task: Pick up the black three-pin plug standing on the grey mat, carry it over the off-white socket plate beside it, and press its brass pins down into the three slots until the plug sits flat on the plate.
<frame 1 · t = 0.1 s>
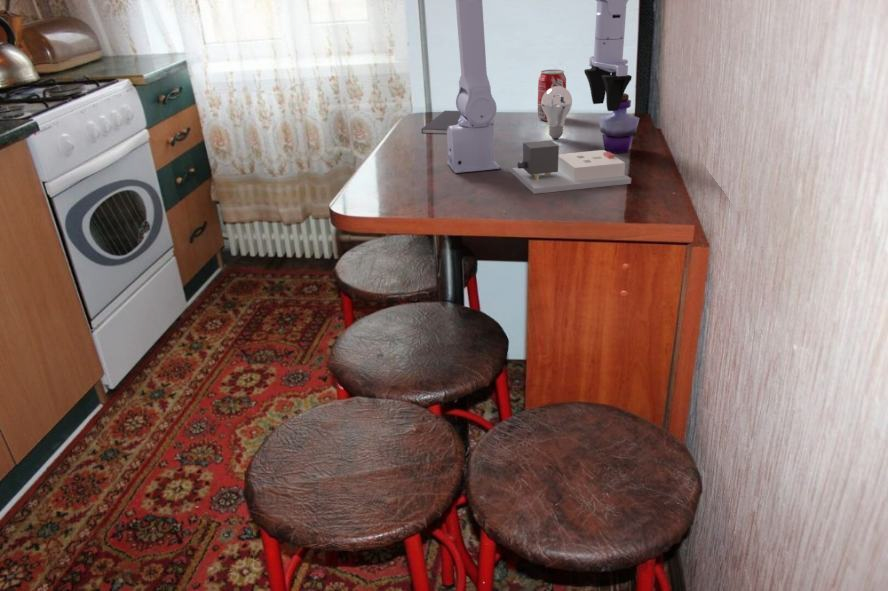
hand: (605, 106, 150), 10 cm above the table, tool pointing down, fingers open, 7 cm apart
socket plate: (589, 171, 140), resting on socket mat
light bulb: (555, 139, 168), on the table
plug: (540, 176, 138), point 1 cm above the table, touching socket mat
socket mat: (569, 178, 140), on the table
potion bottle: (616, 151, 157), on the table
soda can: (551, 120, 186), on the table
notebook: (457, 126, 186), on the table
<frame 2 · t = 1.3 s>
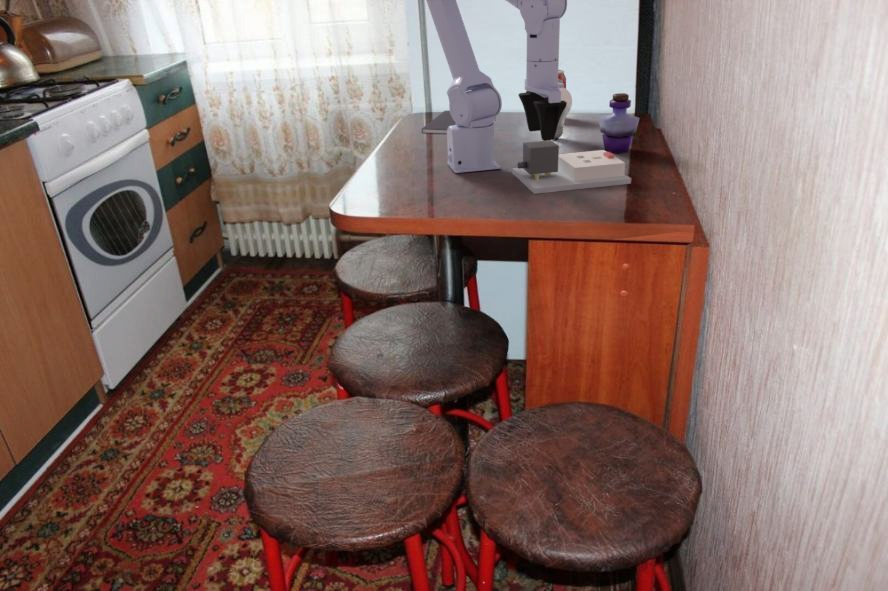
hand: (541, 135, 135), 9 cm above the table, tool pointing down, fingers open, 7 cm apart
nothing on the table moved.
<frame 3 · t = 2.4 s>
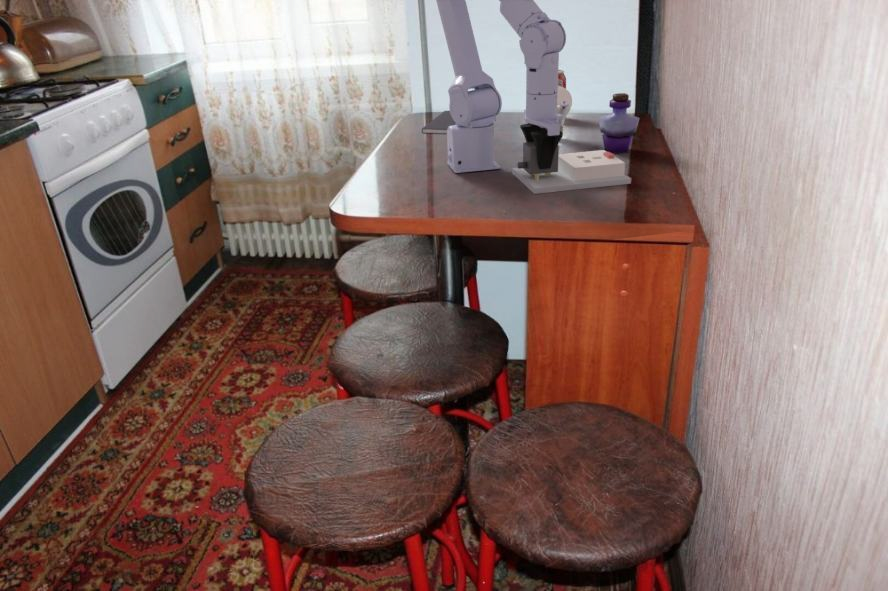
hand: (540, 164, 137), 3 cm above the table, tool pointing down, fingers closed on plug, 4 cm apart
plug: (540, 176, 138), point 1 cm above the table, touching gripper, socket mat
everything else where it was.
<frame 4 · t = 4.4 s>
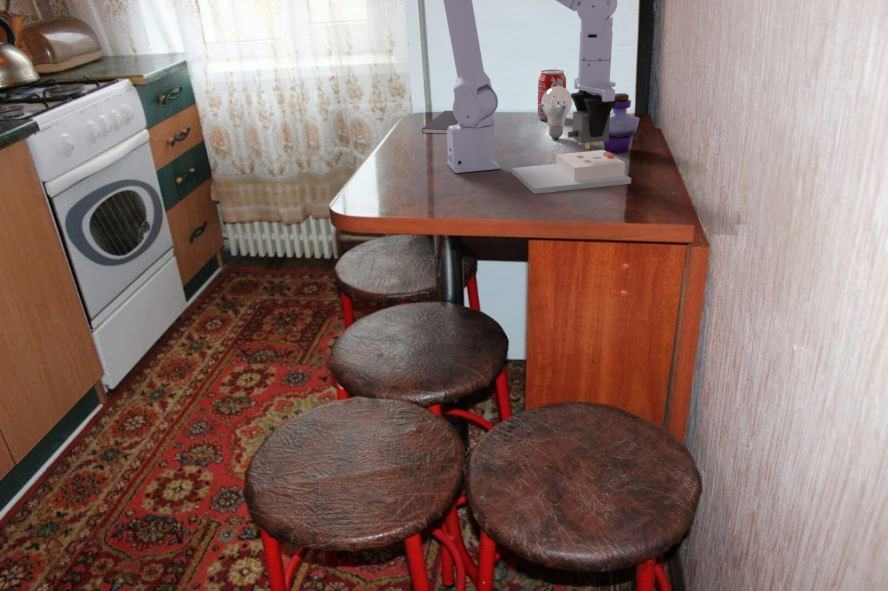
hand: (591, 133, 137), 8 cm above the table, tool pointing down, fingers closed on plug, 4 cm apart
plug: (589, 145, 138), point 6 cm above the table, touching gripper
everything else where it was.
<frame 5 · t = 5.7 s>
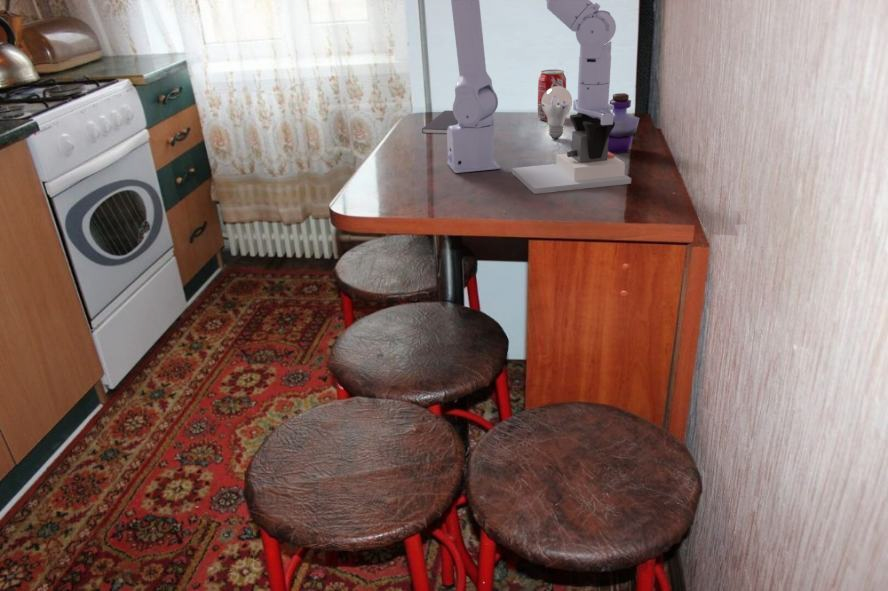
hand: (590, 154, 138), 4 cm above the table, tool pointing down, fingers closed on plug, 4 cm apart
plug: (588, 164, 139), point 2 cm above the table, touching gripper, socket plate
everything else where it was.
when the fingers open (4 cm above the table, at t = 6.4 s): plug stays where it is, resting on socket plate.
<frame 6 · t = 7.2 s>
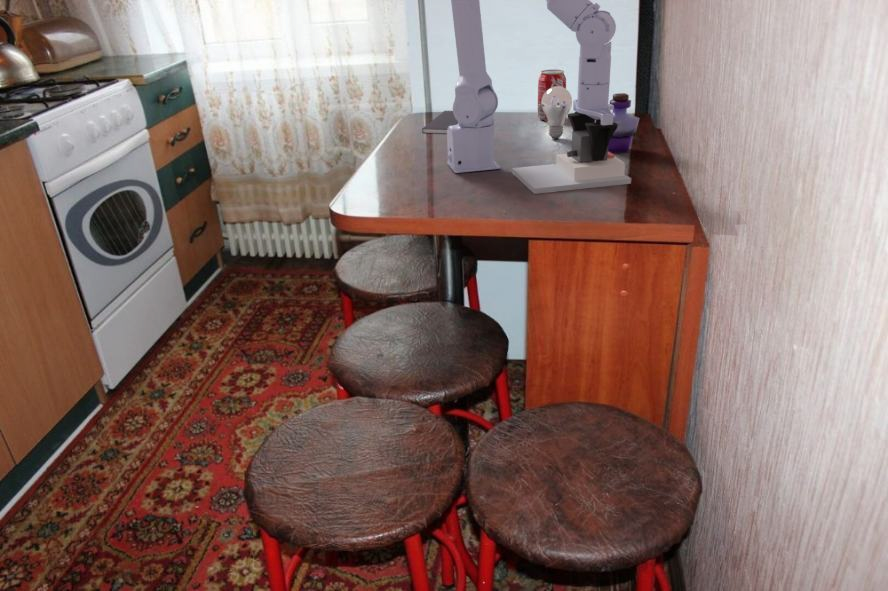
hand: (590, 154, 138), 4 cm above the table, tool pointing down, fingers open, 7 cm apart
plug: (588, 164, 139), point 2 cm above the table, touching socket plate
everything else where it was.
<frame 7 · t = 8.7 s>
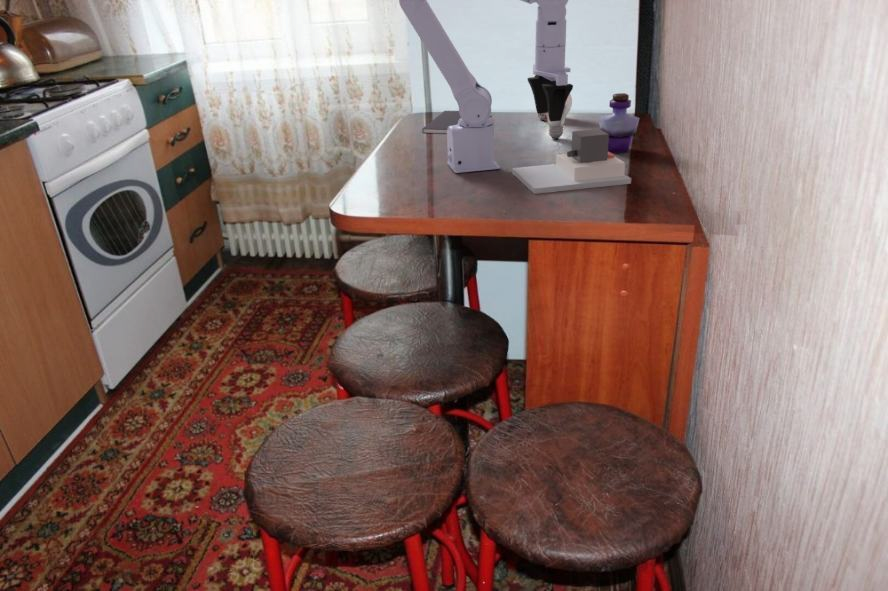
hand: (548, 116, 144), 10 cm above the table, tool pointing down, fingers open, 7 cm apart
nothing on the table moved.
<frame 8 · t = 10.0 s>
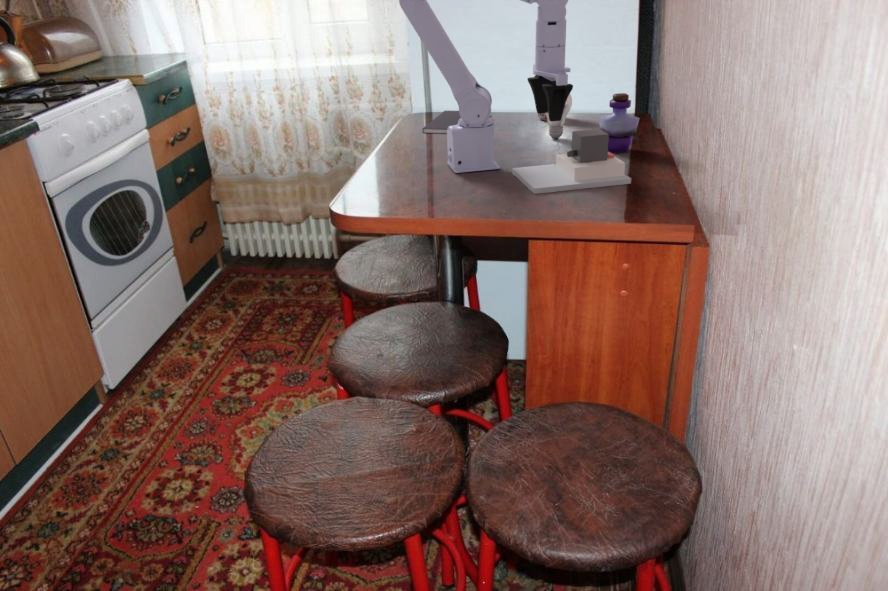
hand: (548, 116, 144), 10 cm above the table, tool pointing down, fingers open, 7 cm apart
nothing on the table moved.
at the end: plug 0.2 cm from the socket plate (horizontally); plug point 2.3 cm above the table; plug tilted 0° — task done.
